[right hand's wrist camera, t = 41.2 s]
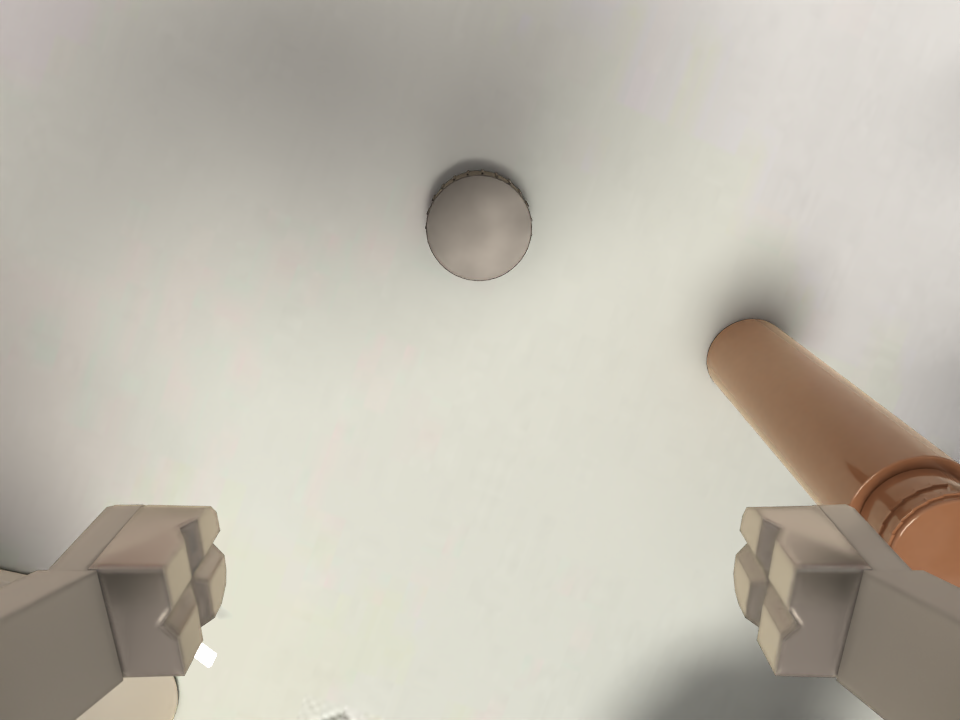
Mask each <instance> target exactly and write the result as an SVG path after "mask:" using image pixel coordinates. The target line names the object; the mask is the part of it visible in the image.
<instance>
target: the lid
mask: <svg viewBox="0 0 960 720" xmlns="http://www.w3.org/2000/svg"><path fill="white" fill-rule="evenodd" d="M521 194H522V193H521V191H520V189H517V188H516V187H515V186H514V185H513V184H512V183H511V182H510V179H508V180H507V179H506V178H504V177H502V176H500V175H498V174H497V172H495V173H492V172H488V171H483V169H481V171H470V172H469V170H468V171H467V172H466V173H462V174H460V175H458V176H456V175H455V176H454V177H453V178H452V179H451V180H449V181H448V182H447V183H446V184H443V185H442V187H441V189H440V190H439V192H438V193H437V195H434V197H433V199H432V201H433V202H432V205H431V207H430V208H429V210H428V212H427V215H428V216H427V223H426V227H425V229H426V233H427V240H428V243H429V246H430V249H431V251H432V253H433V255H434V256H435V258H436V259H437V260H438V262H439V263H440V264H441V265H442V266H443V267H444V268H445V269H447V270H448V271H449V272H451V273H452V274H454V275H456V276H458V277H461V278H464V279H467V280H474V281H484V280H490V279H494V278H497V277H500V276H502V275H504V274H506V273H507V272H509V271H510V270H512V269H513V268H514V267H515V266H516V265H517V264H518V263H519V262H520V260H521V259H522V258H523V256H524V255H525V253H526V251H527V249H528V246H529V243H530V239H531V236H532V223H531V221H532V218H531V216H530V212H529V210H528V207H529V206H528V203H527V201H525V200H524V198H523V197H522V195H521Z"/></svg>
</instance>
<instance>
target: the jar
mask: <svg viewBox="0 0 960 720" xmlns="http://www.w3.org/2000/svg"><path fill="white" fill-rule="evenodd" d="M707 368H708V372H709V375H710V377H711V379H712V380H713V382H714V383H715V384H716V385H717V386H718V387H719V389H720V390H721V391H722V392H723V393H724V395H725V396H726V397H727V398H728V399H729V401H730V402H731V403H732V404H733V405H734V407H735V408H736V409H737V410H738V411H739V412H740V414H741V415H742V416H743V417H744V418H745V420H746V421H747V422H748V423H749V424H750V426H751V427H752V428H753V429H754V430H755V431H756V433H757V434H758V435H759V436H760V437H761V439H762V440H763V441H764V442H765V443H766V445H767V446H768V447H769V448H770V449H771V451H772V452H773V453H774V454H775V455H776V456H777V458H778V459H779V460H780V461H781V462H782V464H783V465H784V466H785V467H786V468H787V470H788V471H789V472H790V473H791V474H792V475H793V477H794V478H795V479H796V480H797V481H798V483H799V484H800V485H801V486H802V487H803V489H804V490H805V491H806V492H807V493H808V495H809V496H810V497H811V498H812V499H813V500H814V502H815V503H816V504H817V505H838V504H846V505H848V506H851V507H853V508H855V509H856V511H857V512H858V513H859V514H860V515H861V516H862V517H863V518H864V519H865V520H866V521H867V522H868V523H869V524H870V526H871V527H872V528H873V529H874V530H875V531H876V532H877V533H878V534H879V535H880V536H881V537H882V538H883V539H884V541H885V542H886V543H887V544H888V545H889V546H890V547H891V548H892V549H893V550H894V551H895V552H896V553H897V554H898V556H899V557H900V558H901V559H902V560H903V561H904V562H905V563H906V564H907V565H908V566H909V567H910V568H911V569H912V570H924V571H926V572H928V573H930V574H932V575H934V576H936V577H938V578H940V579H942V580H944V581H947V582H949V583H951V584H953V585H955V586H957V587H959V588H960V464H959V463H957V462H956V461H955V460H953V459H952V458H951V457H949V456H948V455H947V454H945V453H944V452H943V451H941V450H940V449H939V448H937V447H936V446H935V445H933V444H932V443H931V442H929V441H928V440H927V439H926V438H924V437H923V436H922V435H920V434H919V433H918V432H916V431H915V430H914V429H912V428H911V427H910V426H908V425H907V424H906V423H904V422H903V421H902V420H900V419H899V418H898V417H896V416H895V415H894V414H892V413H891V412H890V411H888V410H887V409H886V408H884V407H883V406H882V405H880V404H879V403H878V402H876V401H875V400H874V399H872V398H871V397H870V396H868V395H867V394H866V393H864V392H863V391H862V390H860V389H859V388H858V387H856V386H855V385H854V384H852V383H851V382H850V381H848V380H847V379H846V378H844V377H843V376H842V375H840V374H839V373H838V372H836V371H835V370H834V369H832V368H831V367H830V366H828V365H827V364H826V363H824V362H823V361H822V360H820V359H819V358H818V357H816V356H815V355H814V354H813V353H811V352H810V351H809V350H807V349H806V348H805V347H803V346H802V345H801V344H799V343H798V342H797V341H795V340H794V339H793V338H791V337H790V336H789V335H787V334H786V333H785V332H783V331H782V330H781V329H779V328H778V327H777V326H775V325H774V324H772V323H770V322H768V321H765V320H760V319H746V320H742V321H738V322H736V323H733V324H731V325H730V326H728V327H726V328H725V329H724V330H722V331H721V332H720V333H719V334H718V335H717V337H716V338H715V339H714V341H713V342H712V344H711V346H710V348H709V352H708V356H707Z"/></svg>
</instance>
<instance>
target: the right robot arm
mask: <svg viewBox="0 0 960 720" xmlns="http://www.w3.org/2000/svg"><path fill="white" fill-rule="evenodd" d="M219 532H220V527H219V522H218V517H217V512H216V511H215V510H214V509H213V508H212V507H211V506H178V505H113V506H109V507H107V508H106V509H105V510H104V511H103V512H102V513H101V514H100V515H99V516H98V517H97V518H96V519H95V520H94V521H93V522H92V523H91V525H90V526H89V527H88V528H87V529H86V530H85V531H84V532H83V533H82V534H81V535H80V536H79V537H78V538H77V540H76V541H75V542H74V543H73V544H72V545H71V546H70V547H69V548H68V549H67V550H66V551H65V552H64V553H63V555H62V556H61V557H60V558H59V559H58V560H57V561H56V562H55V563H54V564H53V565H52V566H51V567H50V568H49V569H48V570H36V571H34V572H32V573H30V574H28V575H25V574H20V573H15V572H11V571H6V570H1V569H0V720H173V718H174V716H175V713H176V709H177V704H178V692H177V686H176V682H175V679H174V676H185V674H186V672H187V670H188V668H189V666H190V664H191V663H192V661H193V659H194V657H195V658H196V659H198V660H199V661H200V662H202V663H203V664H204V665H206V666H207V667H210V666H211V665H212V663H213V661H214V659H215V657H216V655H217V654H216V653H215V652H213V651H212V650H211V649H209V648H208V647H207V646H205V645H204V644H203V643H202V641H203V636H202V630H201V627H202V626H203V625H205V624H206V623H208V622H209V621H211V620H212V619H214V618H215V616H216V614H217V612H218V610H219V608H220V606H221V604H222V600H223V596H224V591H225V587H226V563H225V556H224V554H223V553H222V552H221V551H220V550H219V549H218V548H217V547H216V546H215V545H214V544H213V542H214V540H215V538H216V537H217V535H218V533H219ZM740 532H741V533H742V535H743V537H744V538H745V540H746V542H747V544H746V545H745V546H744V547H743V548H742V549H741V550H740V551H739V552H738V553H737V554H736V557H735V565H734V573H733V575H734V586H735V593H736V597H737V600H738V603H739V606H740V608H741V610H742V612H743V614H744V616H745V618H746V619H748V620H749V621H751V622H752V623H754V624H755V625H757V626H758V627H759V630H758V636H757V642H758V643H759V645H760V647H761V649H762V651H763V653H764V655H765V657H766V659H767V661H768V662H769V664H770V666H771V668H772V670H773V672H774V674H775V676H799V677H835V678H837V681H838V682H839V683H840V684H841V685H843V686H844V687H845V688H846V689H848V690H849V691H850V692H851V693H852V694H854V695H855V696H856V697H857V698H859V699H860V700H861V701H862V702H863V703H865V704H866V705H867V706H868V707H870V708H871V709H872V710H873V711H874V712H876V713H877V714H878V715H879V716H881V717H882V718H883V719H884V720H960V588H959V587H957V586H955V585H953V584H951V583H949V582H947V581H944V580H942V579H940V578H938V577H936V576H934V575H932V574H930V573H928V572H926V571H924V570H912V569H911V568H910V567H909V566H908V565H907V564H906V563H905V562H904V561H903V560H902V559H901V558H900V557H899V556H898V554H897V553H896V552H895V551H894V550H893V549H892V548H891V547H890V546H889V545H888V544H887V543H886V542H885V541H884V539H883V538H882V537H881V536H880V535H879V534H878V533H877V532H876V531H875V530H874V529H873V528H872V527H871V526H870V524H869V523H868V522H867V521H866V520H865V519H864V518H863V517H862V516H861V515H860V514H859V513H858V512H857V511H856V509H855V508H853V507H851V506H848V505H846V504H838V505H813V506H780V507H747V508H746V510H745V512H744V514H743V516H742V521H741V526H740Z"/></svg>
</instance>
